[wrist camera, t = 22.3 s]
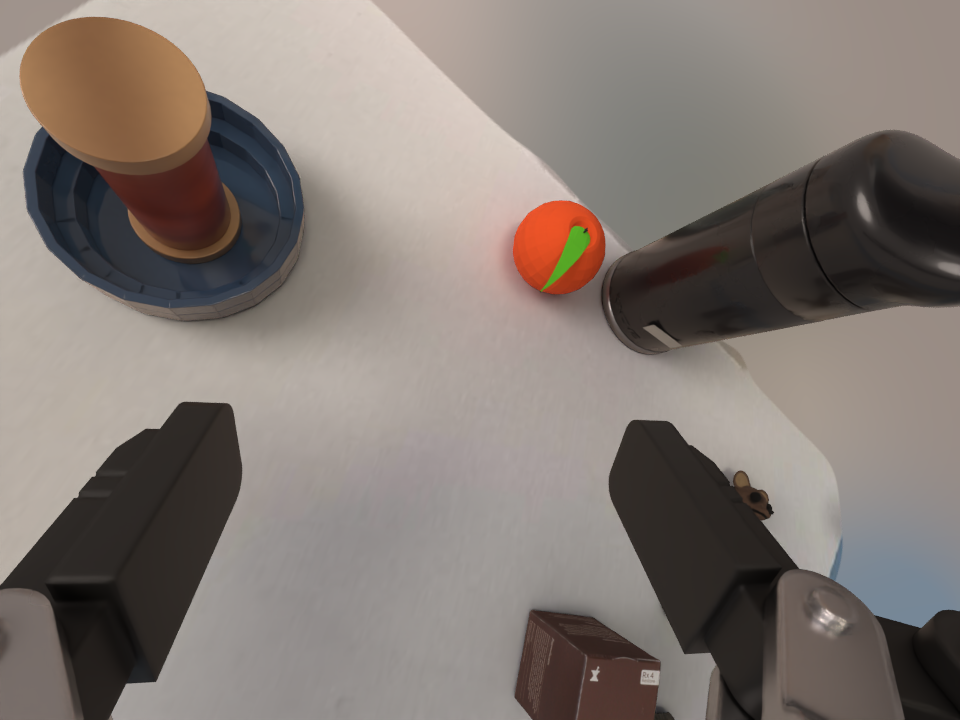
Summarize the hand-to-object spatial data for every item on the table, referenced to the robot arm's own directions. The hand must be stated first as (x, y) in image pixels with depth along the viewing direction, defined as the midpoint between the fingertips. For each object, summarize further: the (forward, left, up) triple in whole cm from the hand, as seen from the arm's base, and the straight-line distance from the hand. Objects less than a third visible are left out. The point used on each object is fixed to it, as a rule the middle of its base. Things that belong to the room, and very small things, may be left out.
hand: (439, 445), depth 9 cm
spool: (+2, -16, -22) cm, 28 cm away
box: (-6, +22, -23) cm, 33 cm away
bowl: (+2, -16, -23) cm, 28 cm away
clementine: (-19, -5, -23) cm, 30 cm away
